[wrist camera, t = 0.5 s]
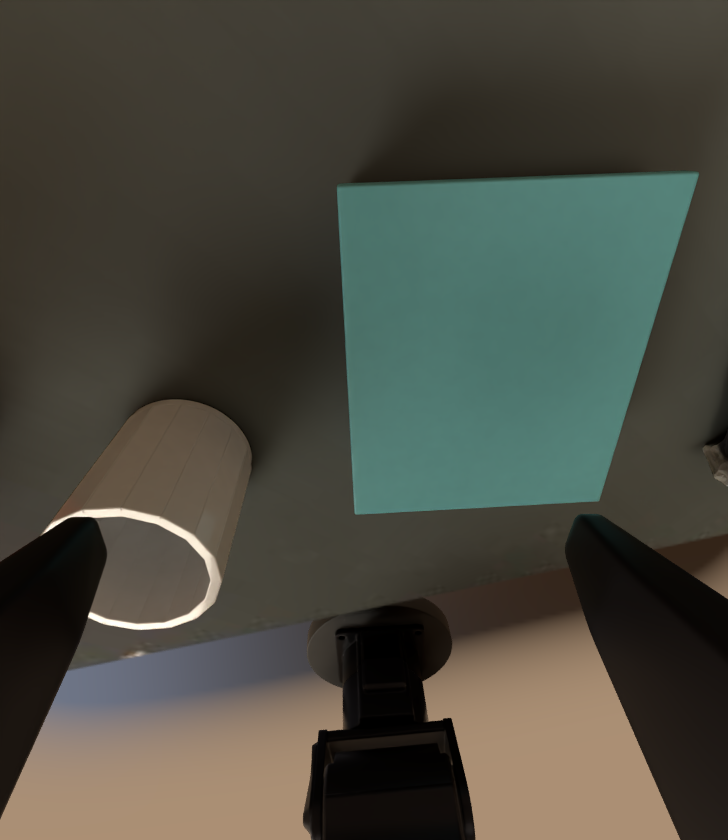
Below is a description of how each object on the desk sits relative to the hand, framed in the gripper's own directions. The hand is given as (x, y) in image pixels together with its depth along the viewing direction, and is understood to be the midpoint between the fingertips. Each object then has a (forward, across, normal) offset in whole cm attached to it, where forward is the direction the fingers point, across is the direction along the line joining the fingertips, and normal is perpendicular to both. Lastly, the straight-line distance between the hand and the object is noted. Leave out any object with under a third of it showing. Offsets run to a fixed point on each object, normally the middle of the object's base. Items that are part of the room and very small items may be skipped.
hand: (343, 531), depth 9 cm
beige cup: (+12, +7, +6) cm, 15 cm away
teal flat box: (+12, -6, +1) cm, 13 cm away
